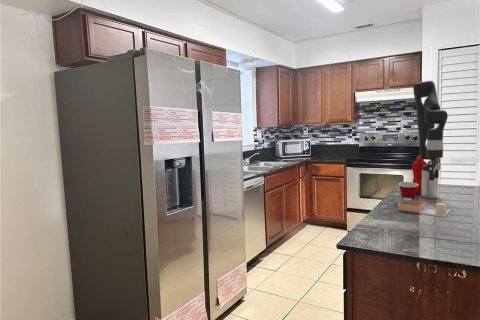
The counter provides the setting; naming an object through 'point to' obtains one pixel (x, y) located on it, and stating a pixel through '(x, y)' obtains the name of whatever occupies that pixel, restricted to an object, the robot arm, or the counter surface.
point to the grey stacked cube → (407, 201)
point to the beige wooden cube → (441, 208)
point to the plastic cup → (408, 189)
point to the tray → (433, 212)
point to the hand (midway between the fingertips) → (433, 179)
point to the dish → (412, 207)
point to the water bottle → (418, 172)
